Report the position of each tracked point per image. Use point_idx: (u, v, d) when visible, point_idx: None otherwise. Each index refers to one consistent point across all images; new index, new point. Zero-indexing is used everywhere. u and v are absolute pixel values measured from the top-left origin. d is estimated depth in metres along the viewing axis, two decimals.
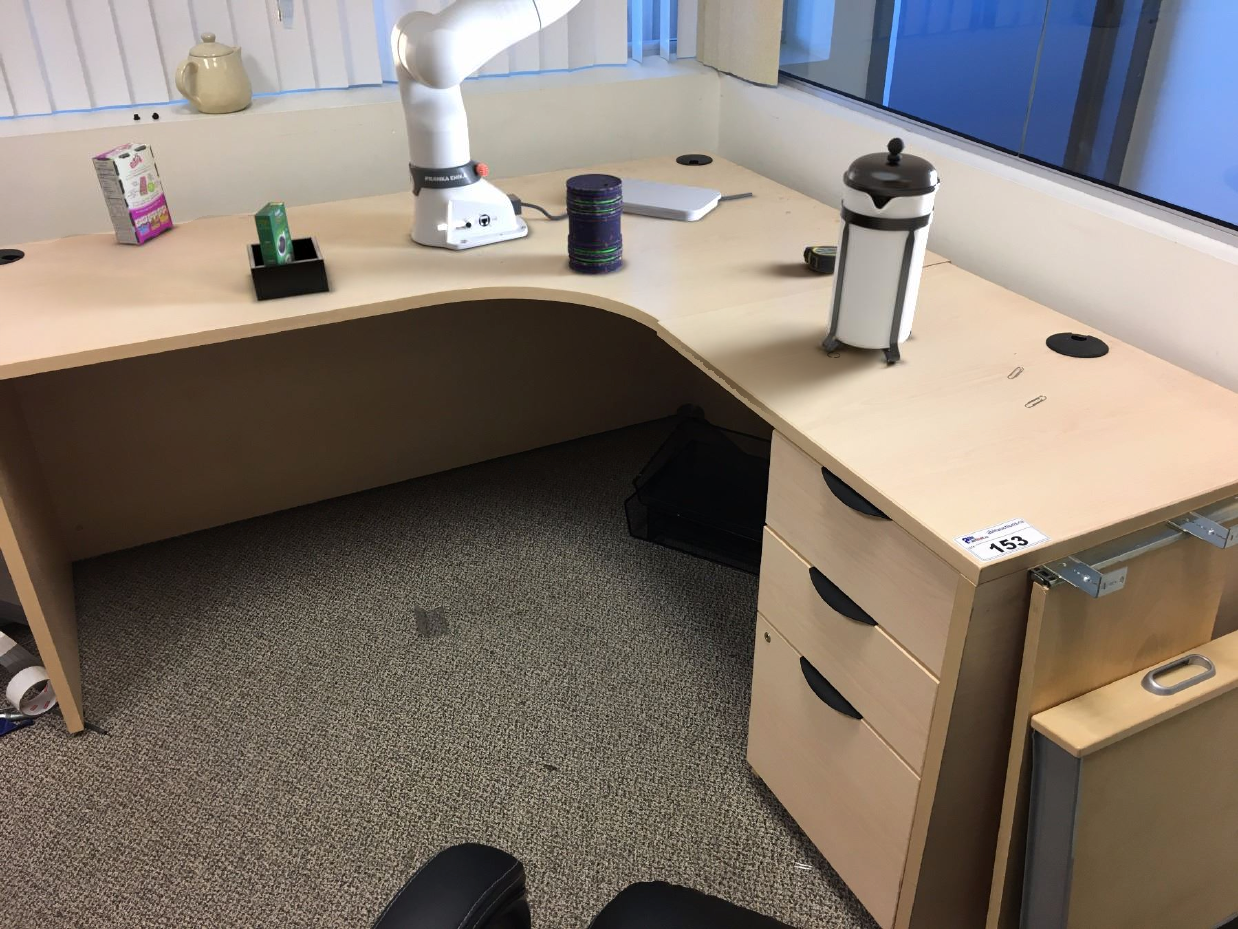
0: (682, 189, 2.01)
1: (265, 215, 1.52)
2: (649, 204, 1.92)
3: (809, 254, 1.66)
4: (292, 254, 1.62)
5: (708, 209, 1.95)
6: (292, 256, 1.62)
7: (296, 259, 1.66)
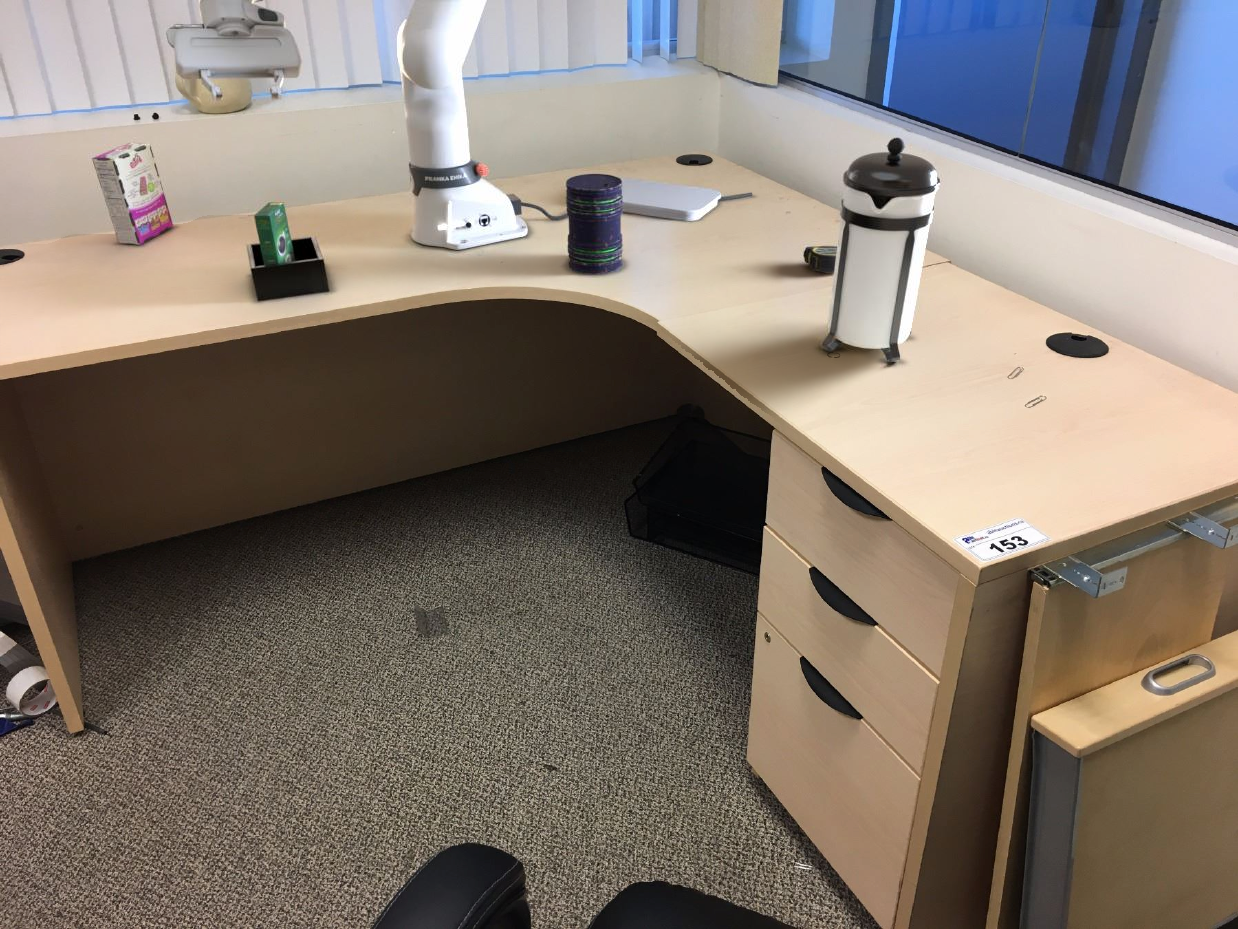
0: (682, 189, 2.01)
1: (265, 215, 1.52)
2: (649, 204, 1.92)
3: (809, 254, 1.66)
4: (292, 254, 1.62)
5: (708, 209, 1.95)
6: (292, 256, 1.62)
7: (296, 259, 1.66)
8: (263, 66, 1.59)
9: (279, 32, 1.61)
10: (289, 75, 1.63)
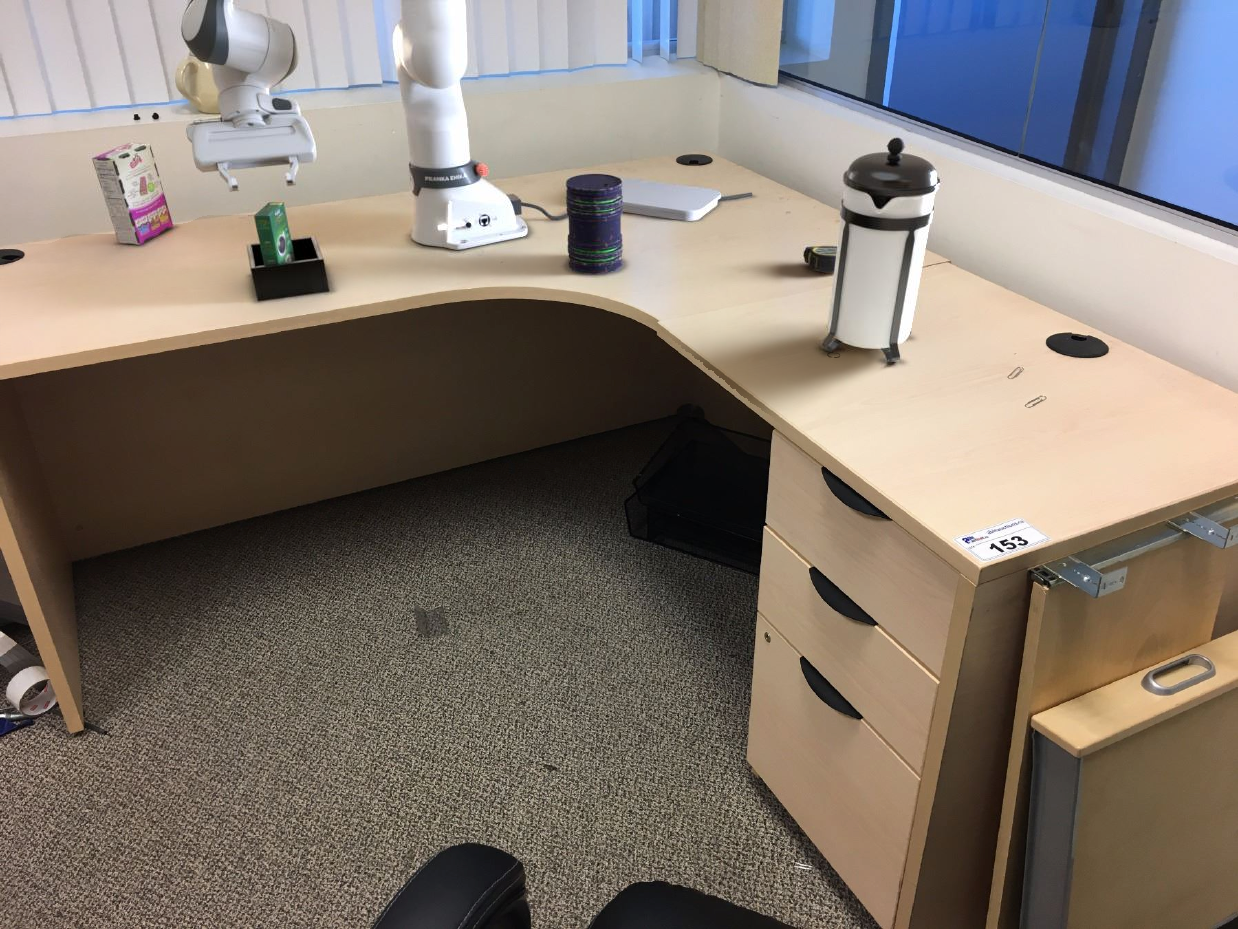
0: (682, 189, 2.01)
1: (265, 215, 1.52)
2: (649, 204, 1.92)
3: (809, 254, 1.66)
4: (292, 254, 1.62)
5: (708, 209, 1.95)
6: (292, 256, 1.62)
7: (296, 259, 1.66)
8: (277, 154, 1.62)
9: (293, 120, 1.64)
10: (304, 160, 1.66)
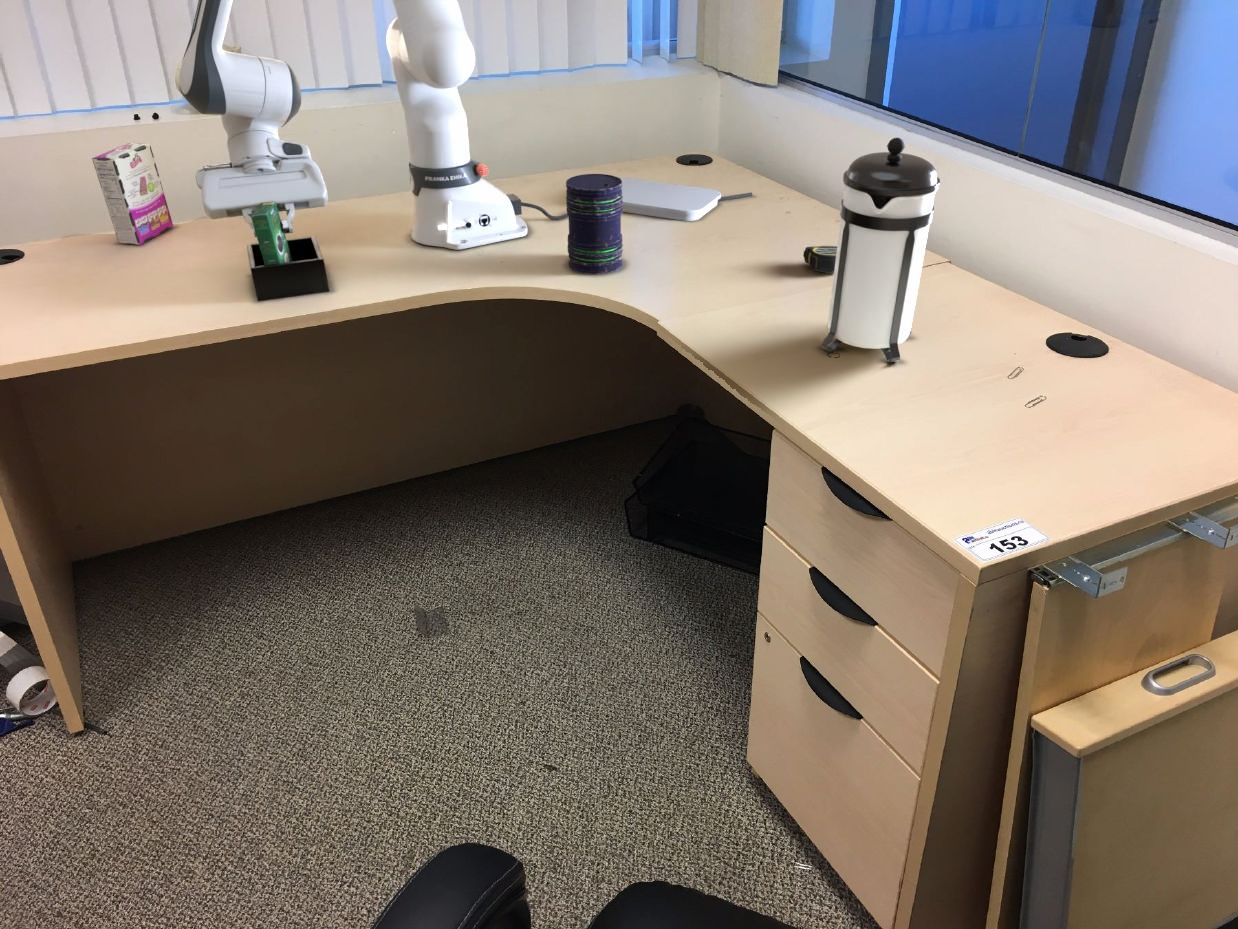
0: (682, 189, 2.01)
1: (262, 215, 1.52)
2: (649, 204, 1.92)
3: (809, 254, 1.66)
4: (289, 253, 1.62)
5: (708, 209, 1.95)
6: (289, 255, 1.62)
7: (296, 259, 1.66)
8: (288, 200, 1.60)
9: (304, 164, 1.61)
10: (315, 205, 1.63)
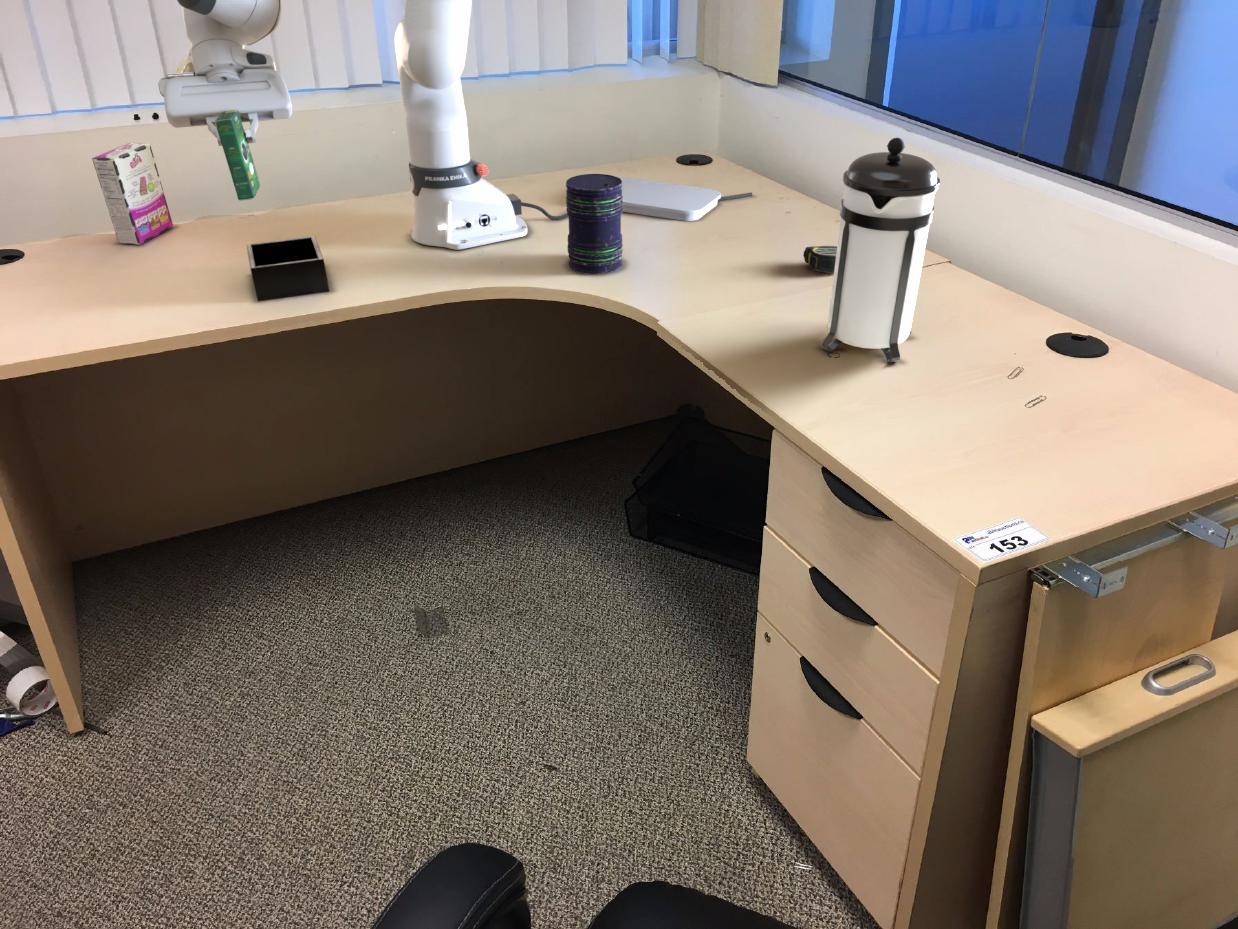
0: (682, 189, 2.01)
1: (226, 120, 1.52)
2: (649, 204, 1.92)
3: (809, 254, 1.66)
4: (253, 164, 1.62)
5: (708, 209, 1.95)
6: (253, 166, 1.62)
7: (296, 259, 1.66)
8: (252, 110, 1.59)
9: (268, 74, 1.61)
10: (280, 117, 1.63)
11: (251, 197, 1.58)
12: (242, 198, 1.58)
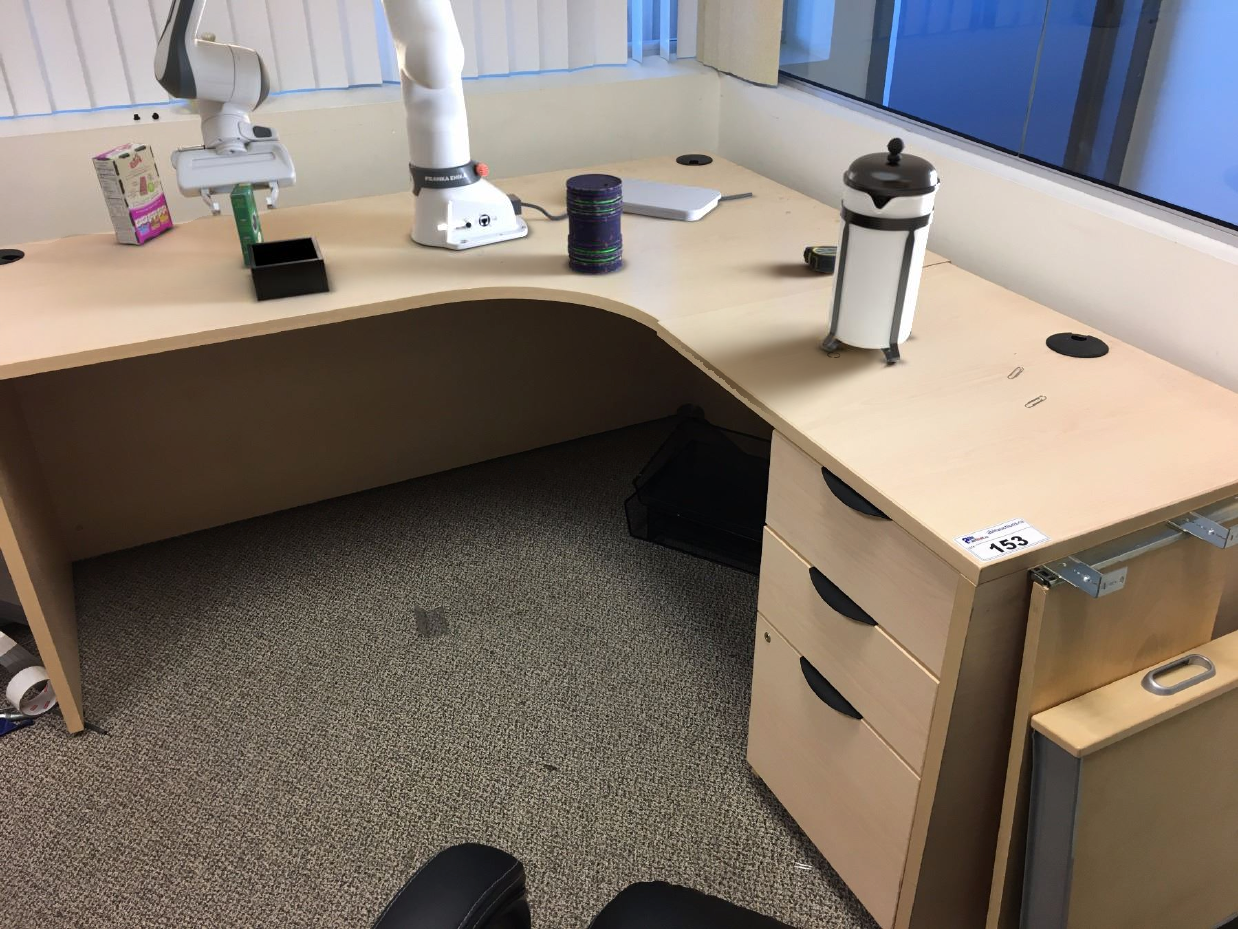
0: (682, 189, 2.01)
1: (241, 194, 1.62)
2: (649, 204, 1.92)
3: (809, 254, 1.66)
4: (261, 232, 1.73)
5: (708, 209, 1.95)
6: (261, 234, 1.73)
7: (296, 259, 1.66)
8: (258, 180, 1.70)
9: (273, 146, 1.71)
10: (284, 185, 1.73)
11: None
12: (249, 265, 1.69)
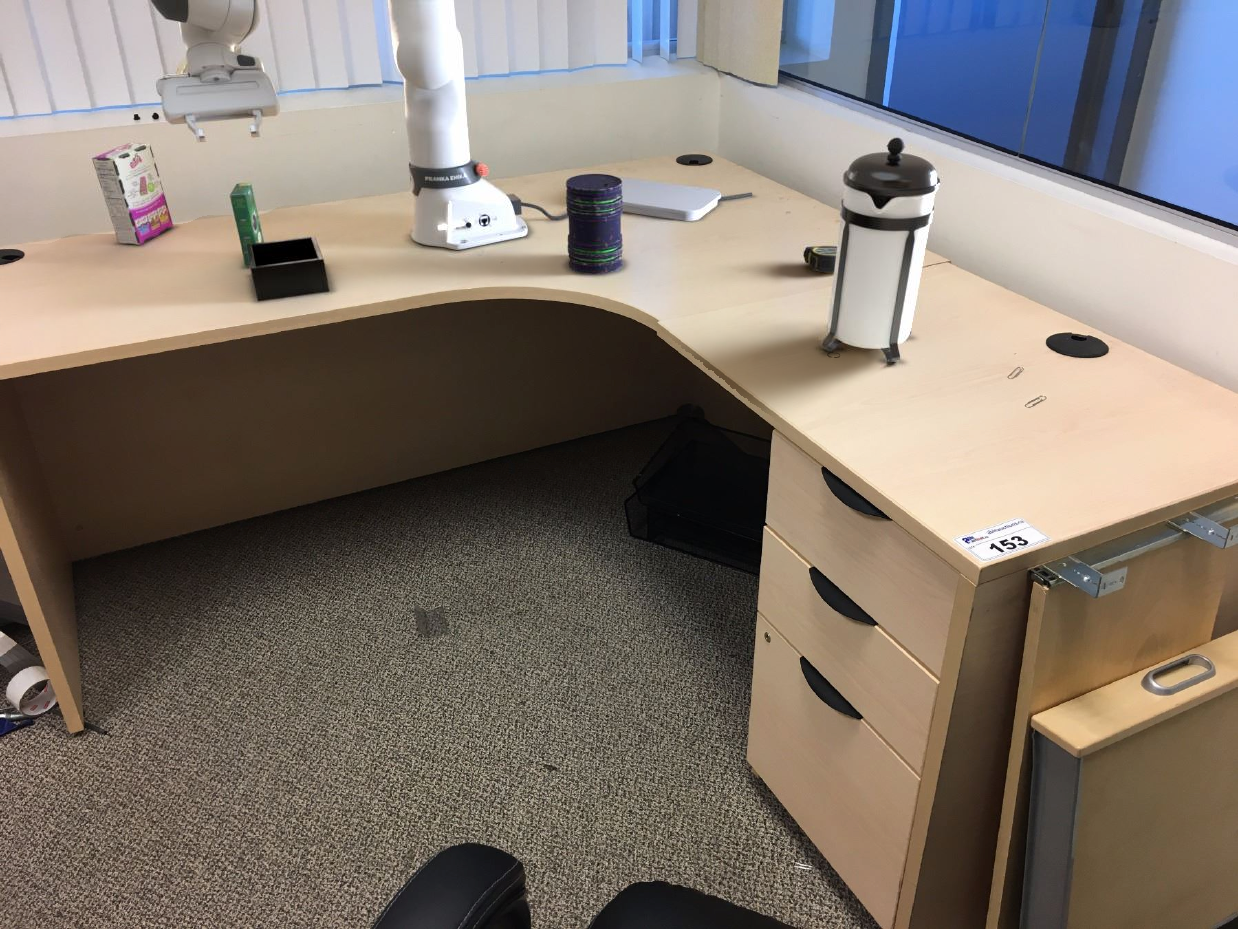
0: (682, 189, 2.01)
1: (241, 194, 1.62)
2: (649, 204, 1.92)
3: (809, 254, 1.66)
4: (261, 232, 1.73)
5: (708, 209, 1.95)
6: (261, 234, 1.73)
7: (296, 259, 1.66)
8: (242, 107, 1.73)
9: (257, 75, 1.75)
10: (268, 114, 1.77)
11: None
12: (249, 265, 1.69)
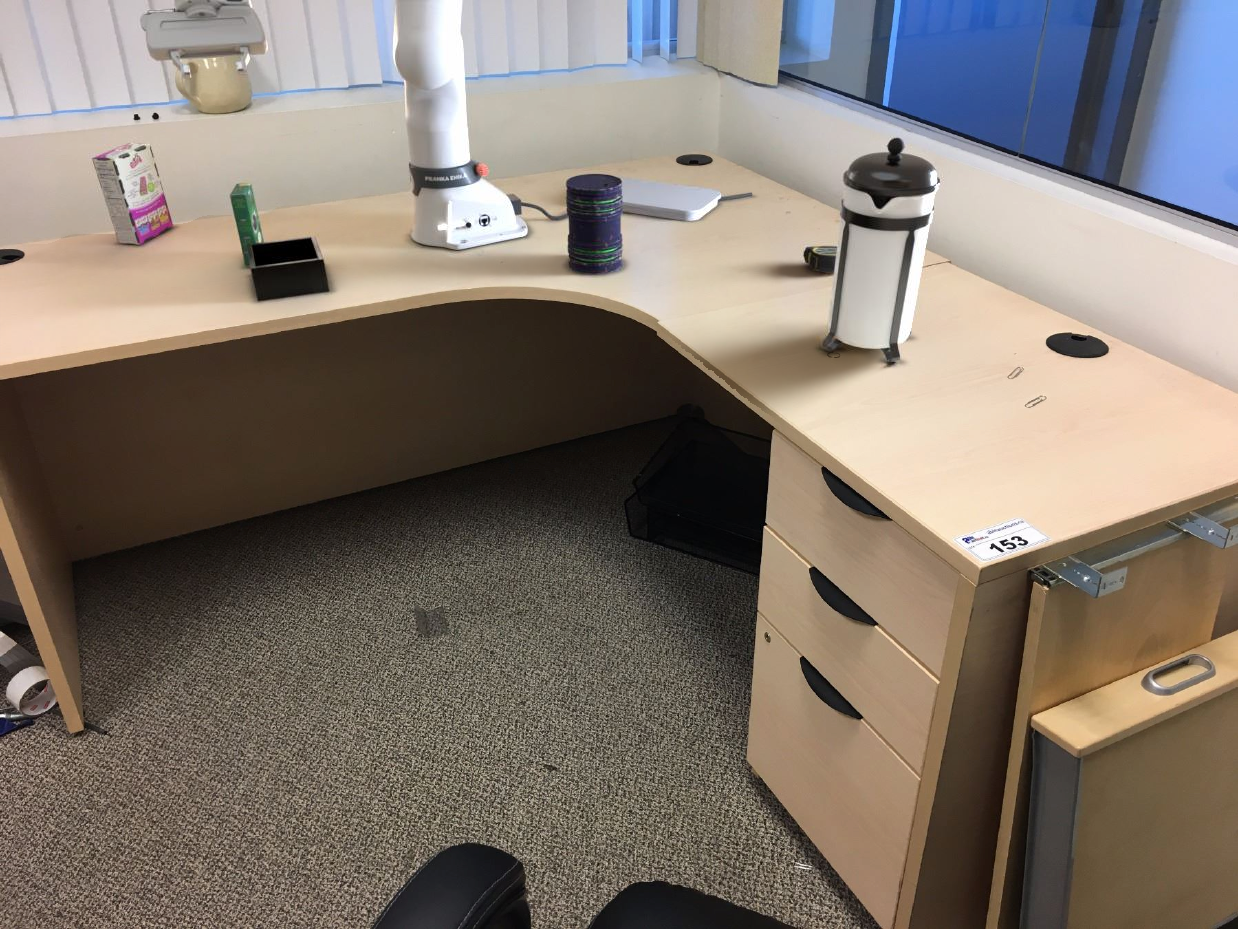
0: (682, 189, 2.01)
1: (241, 194, 1.62)
2: (649, 204, 1.92)
3: (809, 254, 1.66)
4: (261, 232, 1.73)
5: (708, 209, 1.95)
6: (261, 234, 1.73)
7: (296, 259, 1.66)
8: (229, 44, 1.69)
9: (244, 11, 1.70)
10: (255, 52, 1.72)
11: None
12: (249, 265, 1.69)
